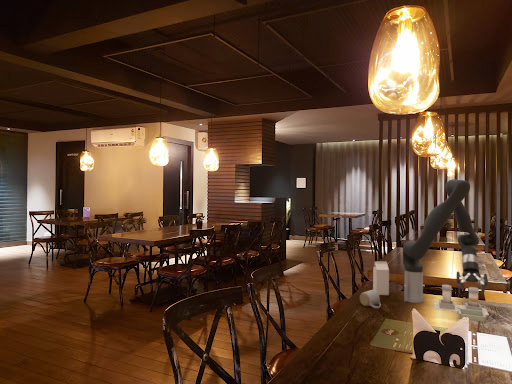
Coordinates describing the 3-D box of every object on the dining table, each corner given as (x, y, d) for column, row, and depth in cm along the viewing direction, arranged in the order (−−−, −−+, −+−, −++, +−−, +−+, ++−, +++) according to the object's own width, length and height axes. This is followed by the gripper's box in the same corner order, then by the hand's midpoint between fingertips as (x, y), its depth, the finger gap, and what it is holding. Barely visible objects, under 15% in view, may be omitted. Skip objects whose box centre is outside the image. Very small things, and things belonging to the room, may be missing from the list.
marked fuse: (468, 310, 188) (469, 288, 188) (467, 308, 192) (468, 286, 192) (479, 311, 187) (479, 289, 186) (477, 309, 191) (478, 287, 190)
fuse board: (434, 310, 191) (434, 303, 191) (433, 303, 202) (433, 297, 202) (489, 317, 182) (489, 310, 182) (485, 309, 193) (485, 303, 193)
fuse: (442, 307, 193) (442, 286, 193) (441, 305, 197) (442, 284, 197) (451, 308, 192) (452, 287, 191) (451, 306, 196) (451, 285, 195)
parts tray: (459, 320, 177) (459, 314, 177) (457, 314, 186) (457, 308, 186) (486, 324, 173) (486, 317, 173) (483, 317, 182) (483, 310, 181)
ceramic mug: (358, 304, 202) (358, 290, 201) (368, 302, 206) (369, 288, 206) (373, 310, 193) (374, 295, 192) (384, 307, 197) (384, 293, 197)
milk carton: (388, 295, 218) (389, 262, 218) (376, 295, 218) (376, 262, 218) (385, 291, 225) (385, 260, 225) (373, 291, 226) (373, 260, 225)
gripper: (455, 259, 203) (457, 286, 193) (486, 261, 197) (490, 288, 187) (455, 267, 208) (456, 293, 197) (484, 269, 202) (488, 296, 192)
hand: (472, 291), depth 192 cm, fingers open, 8 cm apart
